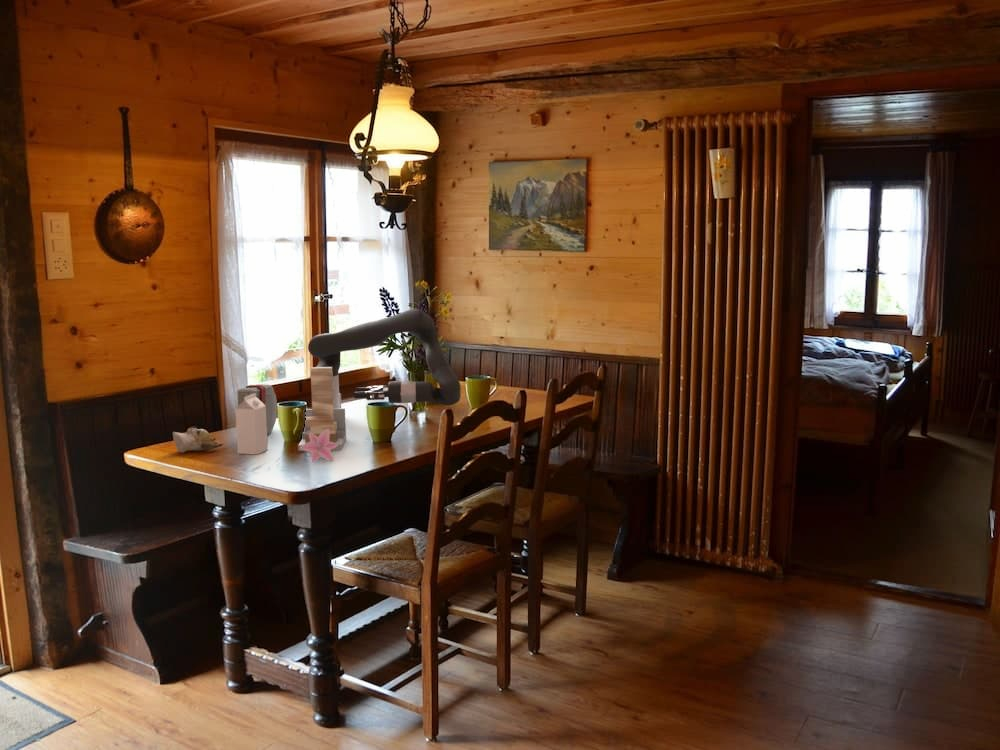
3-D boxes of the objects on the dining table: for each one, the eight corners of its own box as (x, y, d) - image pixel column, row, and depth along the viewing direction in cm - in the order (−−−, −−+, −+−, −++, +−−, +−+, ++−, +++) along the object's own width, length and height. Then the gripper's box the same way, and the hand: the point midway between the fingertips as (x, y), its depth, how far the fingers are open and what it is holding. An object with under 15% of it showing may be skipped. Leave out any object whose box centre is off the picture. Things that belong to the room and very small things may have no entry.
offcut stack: (307, 439, 297) (306, 416, 296) (337, 438, 298) (336, 415, 297) (304, 443, 291) (303, 419, 290) (335, 442, 292) (334, 419, 291)
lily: (295, 464, 277) (298, 443, 272) (308, 443, 286) (311, 423, 281) (328, 475, 276) (331, 454, 271) (340, 454, 285) (344, 434, 280)
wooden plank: (314, 436, 302) (311, 367, 298) (334, 435, 302) (332, 366, 299) (313, 437, 300) (310, 368, 296) (334, 437, 300) (331, 368, 296)
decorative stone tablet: (254, 388, 292) (278, 381, 322) (234, 388, 292) (261, 381, 322) (255, 445, 293) (279, 433, 323) (235, 445, 294) (262, 433, 323)
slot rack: (305, 440, 305) (304, 409, 303) (346, 439, 306) (344, 408, 304) (298, 451, 289) (296, 418, 287) (341, 450, 290) (339, 417, 288)
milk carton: (237, 453, 286) (234, 396, 283) (248, 448, 293) (245, 392, 290) (257, 455, 284) (254, 397, 281) (268, 449, 291) (265, 393, 288)
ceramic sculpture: (169, 424, 290) (215, 421, 298) (169, 449, 291) (215, 446, 299) (176, 430, 281) (223, 427, 289) (176, 456, 283) (223, 453, 290)
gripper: (403, 378, 307) (356, 378, 306) (401, 384, 293) (352, 385, 292) (403, 399, 308) (357, 400, 307) (402, 406, 294) (353, 407, 293)
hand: (354, 393), depth 299 cm, fingers open, 8 cm apart
